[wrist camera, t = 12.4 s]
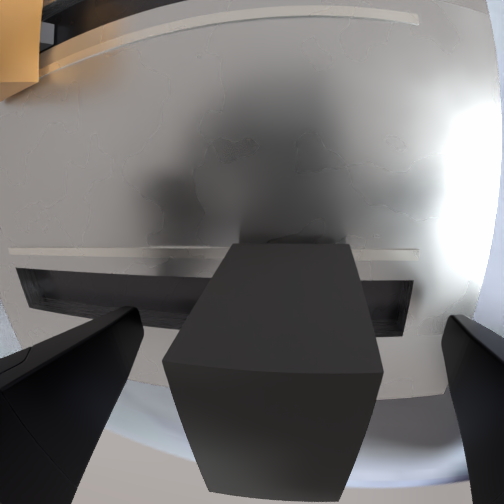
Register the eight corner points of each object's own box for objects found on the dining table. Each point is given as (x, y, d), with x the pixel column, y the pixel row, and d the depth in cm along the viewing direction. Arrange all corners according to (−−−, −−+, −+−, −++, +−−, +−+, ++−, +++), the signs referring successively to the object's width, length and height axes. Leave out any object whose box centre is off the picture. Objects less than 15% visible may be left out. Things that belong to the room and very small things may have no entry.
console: (433, -75, 5) (449, -100, 3) (431, 361, 11) (444, 395, 10) (-2, 15, 8) (-31, 12, 6) (43, 330, 15) (21, 351, 13)
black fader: (344, 228, 9) (384, 373, 4) (335, 349, 11) (338, 501, 5) (242, 228, 9) (160, 360, 4) (251, 346, 11) (209, 491, 6)
